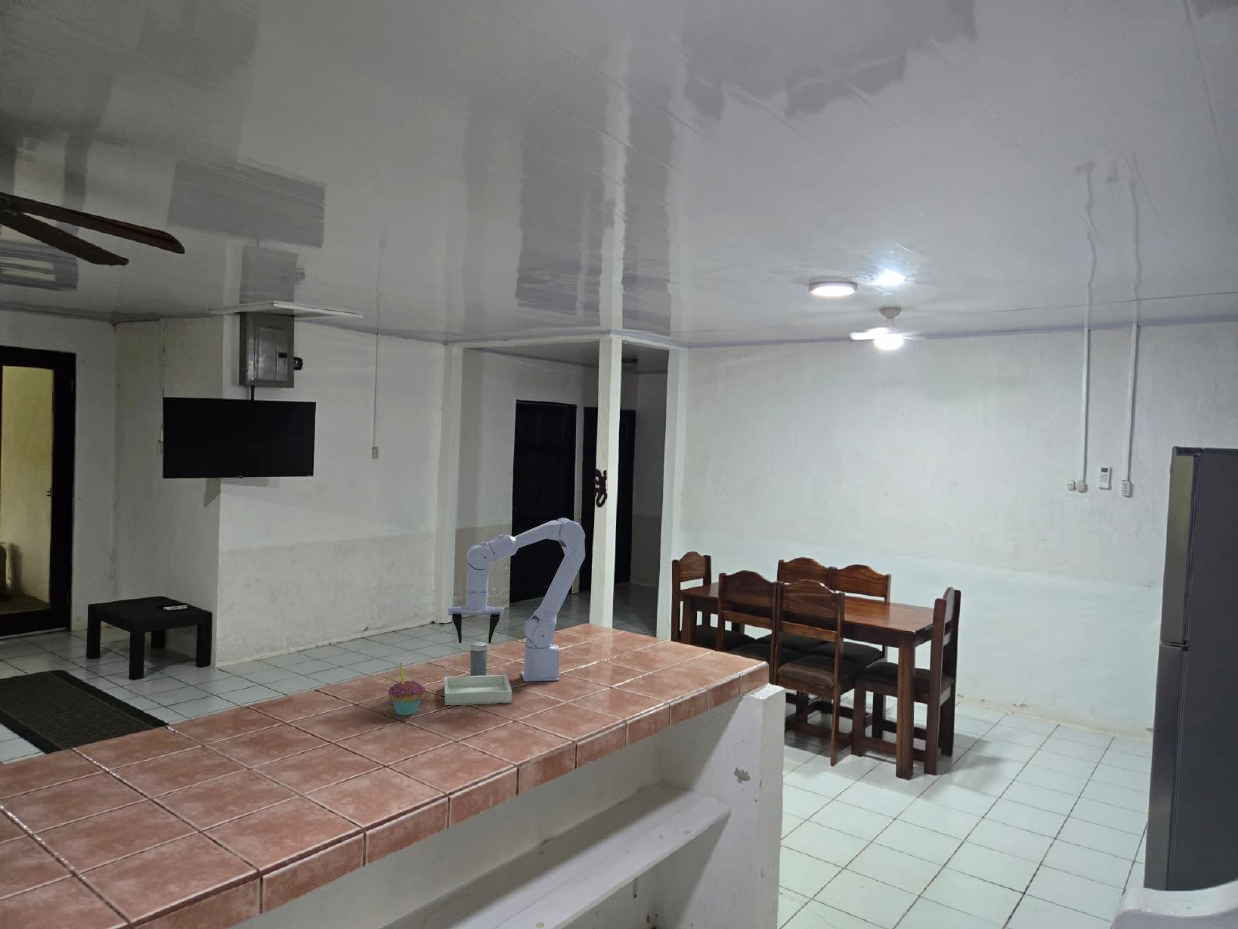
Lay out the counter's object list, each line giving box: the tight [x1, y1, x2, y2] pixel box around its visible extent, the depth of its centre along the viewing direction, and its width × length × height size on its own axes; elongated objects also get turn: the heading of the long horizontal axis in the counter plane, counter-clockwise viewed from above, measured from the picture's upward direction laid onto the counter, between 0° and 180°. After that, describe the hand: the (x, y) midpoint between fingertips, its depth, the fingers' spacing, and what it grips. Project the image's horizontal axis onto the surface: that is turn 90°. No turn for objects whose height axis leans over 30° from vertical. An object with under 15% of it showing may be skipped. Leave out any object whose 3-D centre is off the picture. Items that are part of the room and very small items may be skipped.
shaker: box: [469, 641, 489, 676], centre depth 219 cm, size 5×5×10 cm
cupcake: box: [387, 663, 427, 716], centre depth 192 cm, size 9×8×12 cm
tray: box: [443, 674, 513, 706], centre depth 206 cm, size 16×14×3 cm
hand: (474, 642), depth 218 cm, fingers open, 7 cm apart
